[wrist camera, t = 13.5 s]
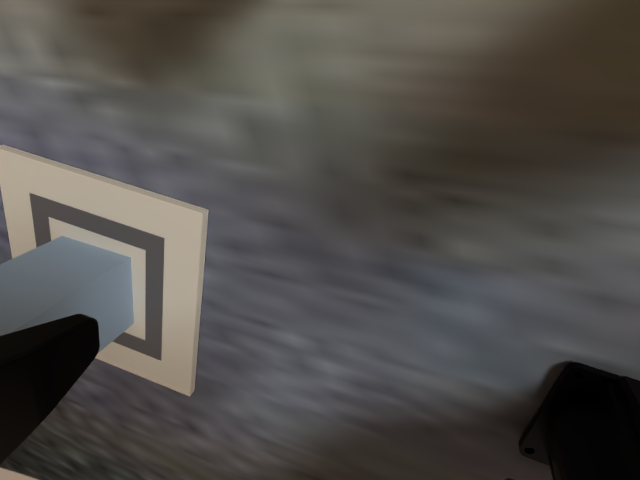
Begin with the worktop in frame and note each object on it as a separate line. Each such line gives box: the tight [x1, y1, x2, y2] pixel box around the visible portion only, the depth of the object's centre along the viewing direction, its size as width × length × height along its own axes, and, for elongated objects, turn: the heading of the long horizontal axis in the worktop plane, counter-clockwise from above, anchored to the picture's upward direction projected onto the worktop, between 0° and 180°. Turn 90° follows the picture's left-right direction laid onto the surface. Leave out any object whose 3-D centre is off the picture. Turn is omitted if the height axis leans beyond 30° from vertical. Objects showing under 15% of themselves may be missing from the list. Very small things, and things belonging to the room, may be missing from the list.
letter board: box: [0, 145, 209, 396], centre depth 27 cm, size 14×14×1 cm
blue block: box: [0, 236, 134, 353], centre depth 22 cm, size 5×5×10 cm
